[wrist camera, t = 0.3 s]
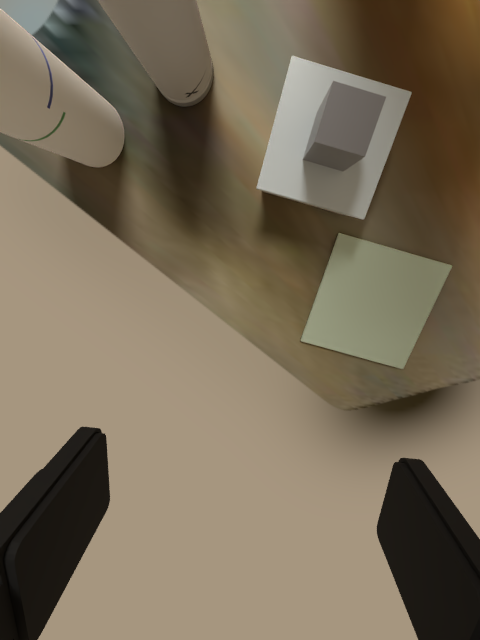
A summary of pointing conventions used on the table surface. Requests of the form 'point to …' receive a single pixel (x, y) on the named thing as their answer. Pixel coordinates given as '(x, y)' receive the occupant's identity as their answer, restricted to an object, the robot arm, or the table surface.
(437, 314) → the table surface
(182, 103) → the travel mug
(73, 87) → the cylindrical container
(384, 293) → the mat
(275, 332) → the table surface
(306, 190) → the lid
